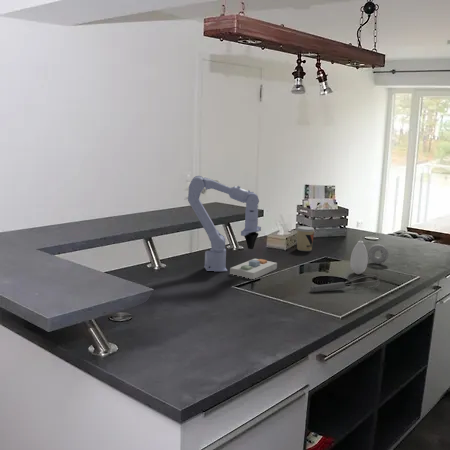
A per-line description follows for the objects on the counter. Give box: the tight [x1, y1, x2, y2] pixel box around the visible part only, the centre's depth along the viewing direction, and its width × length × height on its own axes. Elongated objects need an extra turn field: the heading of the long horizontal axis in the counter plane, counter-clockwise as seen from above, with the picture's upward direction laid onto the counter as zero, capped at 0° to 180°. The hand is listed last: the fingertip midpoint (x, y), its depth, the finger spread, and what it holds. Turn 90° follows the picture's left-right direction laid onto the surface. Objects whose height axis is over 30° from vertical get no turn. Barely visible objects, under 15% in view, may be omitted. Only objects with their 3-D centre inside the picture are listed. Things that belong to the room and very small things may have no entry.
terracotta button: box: [257, 258, 268, 264], centre depth 253 cm, size 4×4×3 cm
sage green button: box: [241, 265, 252, 270], centre depth 242 cm, size 4×4×3 cm
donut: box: [367, 243, 389, 265], centre depth 269 cm, size 10×3×10 cm, turn 65°
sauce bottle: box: [349, 236, 369, 275], centre depth 250 cm, size 8×8×18 cm
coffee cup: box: [296, 225, 316, 252], centre depth 293 cm, size 9×9×12 cm
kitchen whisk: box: [306, 273, 381, 294], centre depth 226 cm, size 6×34×6 cm, turn 108°
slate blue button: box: [248, 259, 260, 267], centre depth 247 cm, size 4×4×3 cm
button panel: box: [229, 258, 278, 280], centre depth 248 cm, size 22×12×3 cm, turn 147°
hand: (250, 248), depth 247 cm, fingers closed
